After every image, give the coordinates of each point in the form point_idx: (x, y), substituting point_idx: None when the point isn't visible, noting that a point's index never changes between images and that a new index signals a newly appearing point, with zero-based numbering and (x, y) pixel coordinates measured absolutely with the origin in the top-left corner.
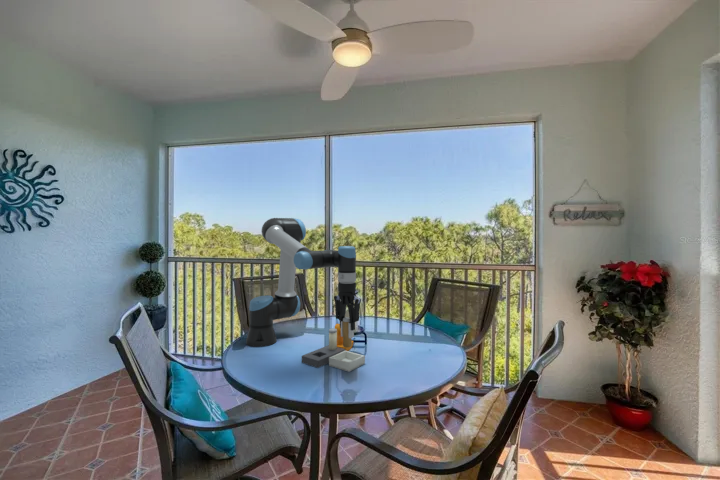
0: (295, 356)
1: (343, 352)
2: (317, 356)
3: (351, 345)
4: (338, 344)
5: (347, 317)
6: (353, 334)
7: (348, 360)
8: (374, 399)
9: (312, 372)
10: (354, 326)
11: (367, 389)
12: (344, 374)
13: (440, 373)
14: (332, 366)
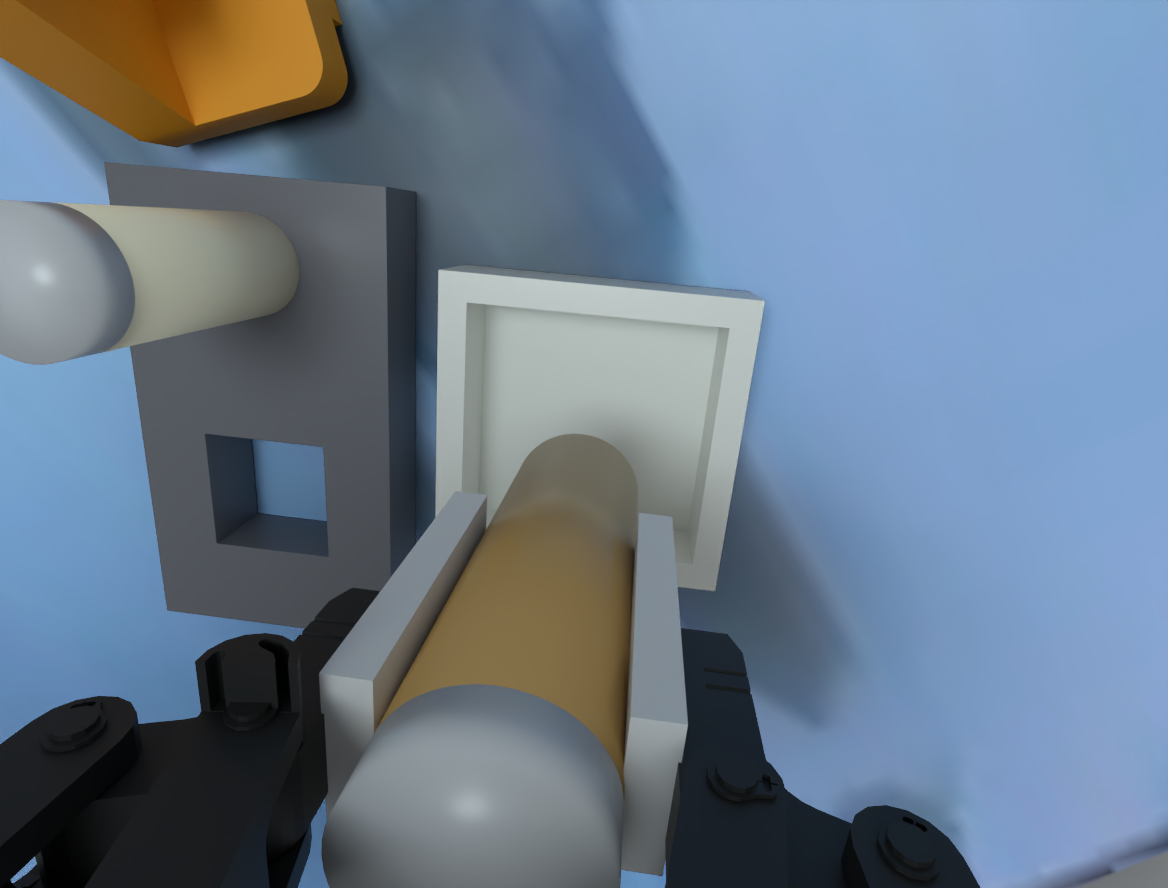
0: (46, 489)
1: (465, 346)
2: (300, 555)
3: (631, 470)
4: (162, 33)
5: (409, 799)
6: (671, 547)
7: (558, 342)
8: (1113, 841)
9: None
10: (746, 712)
11: (1007, 746)
12: (697, 608)
13: None
14: None
